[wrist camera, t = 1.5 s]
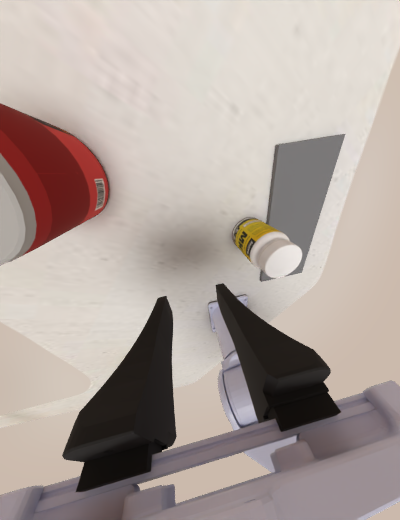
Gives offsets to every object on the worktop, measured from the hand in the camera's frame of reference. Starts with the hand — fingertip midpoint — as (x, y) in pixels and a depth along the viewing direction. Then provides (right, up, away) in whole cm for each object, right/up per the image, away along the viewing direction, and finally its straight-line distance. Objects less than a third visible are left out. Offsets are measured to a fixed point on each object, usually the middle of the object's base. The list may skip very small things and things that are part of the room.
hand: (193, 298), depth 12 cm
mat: (+14, +9, +10) cm, 20 cm away
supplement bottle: (+8, +7, +10) cm, 14 cm away
